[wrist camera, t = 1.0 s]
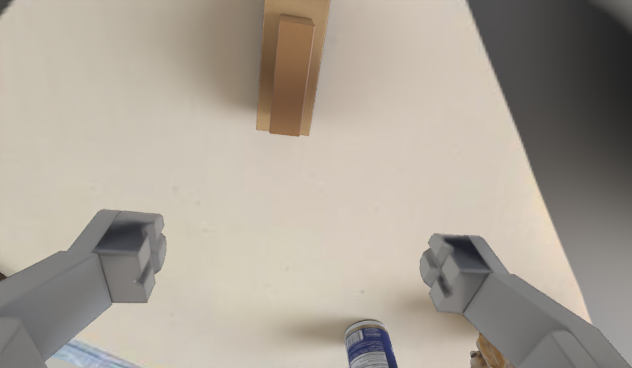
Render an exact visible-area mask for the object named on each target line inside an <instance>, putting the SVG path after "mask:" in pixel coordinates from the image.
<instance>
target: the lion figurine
mask: <svg viewBox="0 0 632 368" xmlns="http://www.w3.org/2000/svg"><path fill="white" fill-rule="evenodd" d="M476 345H477V347H478V349H479V351H471V352H470V355H471V358H472V359H471V360H470V363H471V368H515V367H514V366H513V365H512V364H511V363H510V362H509V361H508V360H507V359H506V358H505V357H504V356H503V355H502V354H501V353H500V352H499V351H498V350H497V349H496V348H495V347H494V346H493V345H492V344H491V343H490V342H489V341H488V340H487V339H486V338H485V337H484V336H483V335H482V334H481V333H480V336H479V338H478V340H477V341H476Z"/></svg>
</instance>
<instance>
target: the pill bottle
mask: <svg viewBox="0 0 632 368" xmlns="http://www.w3.org/2000/svg"><path fill="white" fill-rule="evenodd" d="M344 338H345V345H346V351H347V357H348V363H349V368H398V367H397V363H396V360H395V356H394V352H393V349H392V345H391V342H390V338H389V335H388V332H387V329H386V327H385V326H384V325H383V324H382V323H380V322H377V321H362V322H358V323H356V324H354V325H352V326H350V327H349V328H348V329H347V331H346V332H345V337H344Z"/></svg>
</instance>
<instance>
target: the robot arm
mask: <svg viewBox="0 0 632 368" xmlns="http://www.w3.org/2000/svg"><path fill="white" fill-rule="evenodd" d="M163 227H164V220H163V216H162V215H161V214H154V213H143V212H132V211H118V210H107V209H103V210H100V211H98V212H97V214H96V215H95V216H94V217H93V219H92V220H91V221H90V222H89V224H88V225H87V226H86V228H85V229H84V230H83V231H82V233H81V234H80V235H79V237H78V238H77V239H76V240H75V242H74V243H73V244H72V245H71V247H70V248H69V249H68V251H59V252H57V253H55V254H53V255H52V256H50V257H48V258H46V259H44V260H42V261H40V262H38V263H36V264H34V265H32V266H30V267H28V268H26V269H24V270H22V271H20V272H18V273H16V274H14V275H12V276H10V277H8V278H6V279H4V280H2V281H0V368H47V366H46V364H45V361H46V360H47V359H49V358H50V357H51V356H52V355H53V354H54V353H56V352H57V351H58V350H59V349H60V348H62V347H63V346H64V345H65V344H66V343H67V342H69V341H70V340H71V339H72V338H73V337H75V336H76V335H77V334H78V333H79V332H80V331H82V330H83V329H84V328H85V327H86V326H88V325H89V324H90V323H91V322H92V321H94V320H95V319H96V318H97V317H98V316H99V315H101V314H102V313H103V312H104V311H105V310H107V309H108V308H109V307H110V306H111V305H112V303H147V302H148V299H149V297H150V295H151V292H152V290H153V287H154V285H155V276H154V274H156V273H157V272H159V271H160V270H161V268H162V266H163V263H164V260H165V255H166V237H165V236H164V235H163V234H162V233H161V231H162V229H163ZM428 244H429V246H430V248H429V249H428V250H426V251H425V252H424V253H423V255H422V257H421V259H420V273H421V277H422V279H423V281H424V283H426V284H427V285H428V286H429V287H430V288H431V289H430V292H429V295H430V297H431V299H432V302H433V304H434V306H435V308H436V310H437V312H446V313H463V316H464V317H465V318H466V319H467V320H468V321H469V322H470V323H471V324H472V325H473V326H474V327H475V328H476V329H477V330H478V331H479V332H480V333H481V334H482V335H483V336H484V337H485V338H486V339H487V340H488V341H489V342H490V343H491V344H492V345H493V346H494V347H495V348H496V349H497V350H498V351H499V352H500V353H501V354H502V355H503V356H504V357H505V358H506V359H507V360H508V361H509V362H510V363H511V364H512V365H513V366H514V367H515V368H632V367H631V366H630V365H629V364H628V363H627V362H626V360H625V359H624V358H623V357H622V356H621V355H620V353H619V352H618V351H617V350H616V349H615V348H614V347H613V346H612V344H611V343H610V342H609V341H608V340H607V339H606V337H605V336H604V335H603V334H602V333H601V332H600V331H599V329H597V328H596V327H594V326H593V325H591V324H590V323H588V322H587V321H585V320H583V319H582V318H580V317H579V316H577V315H576V314H574V313H573V312H571V311H570V310H568V309H567V308H565V307H564V306H562V305H561V304H559V303H557V302H556V301H554V300H553V299H551V298H550V297H548V296H547V295H545V294H544V293H542V292H541V291H539V290H538V289H536V288H535V287H533V286H532V285H530V284H528V283H527V282H525V281H524V280H522V279H521V278H519V277H518V276H516V275H515V274H510V273H509V272H508V271H507V269H506V268H505V267H504V265H503V264H502V263H501V261H500V260H499V259H498V257H497V256H496V255H495V253H494V252H493V251H492V249H491V248H490V247H489V245H488V244H487V243H486V241H485V240H484V239H483V238H482V237H480V236H476V235H452V234H436V233H434V234H433V235H432V236H431V237H430V239H429V242H428Z"/></svg>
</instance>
